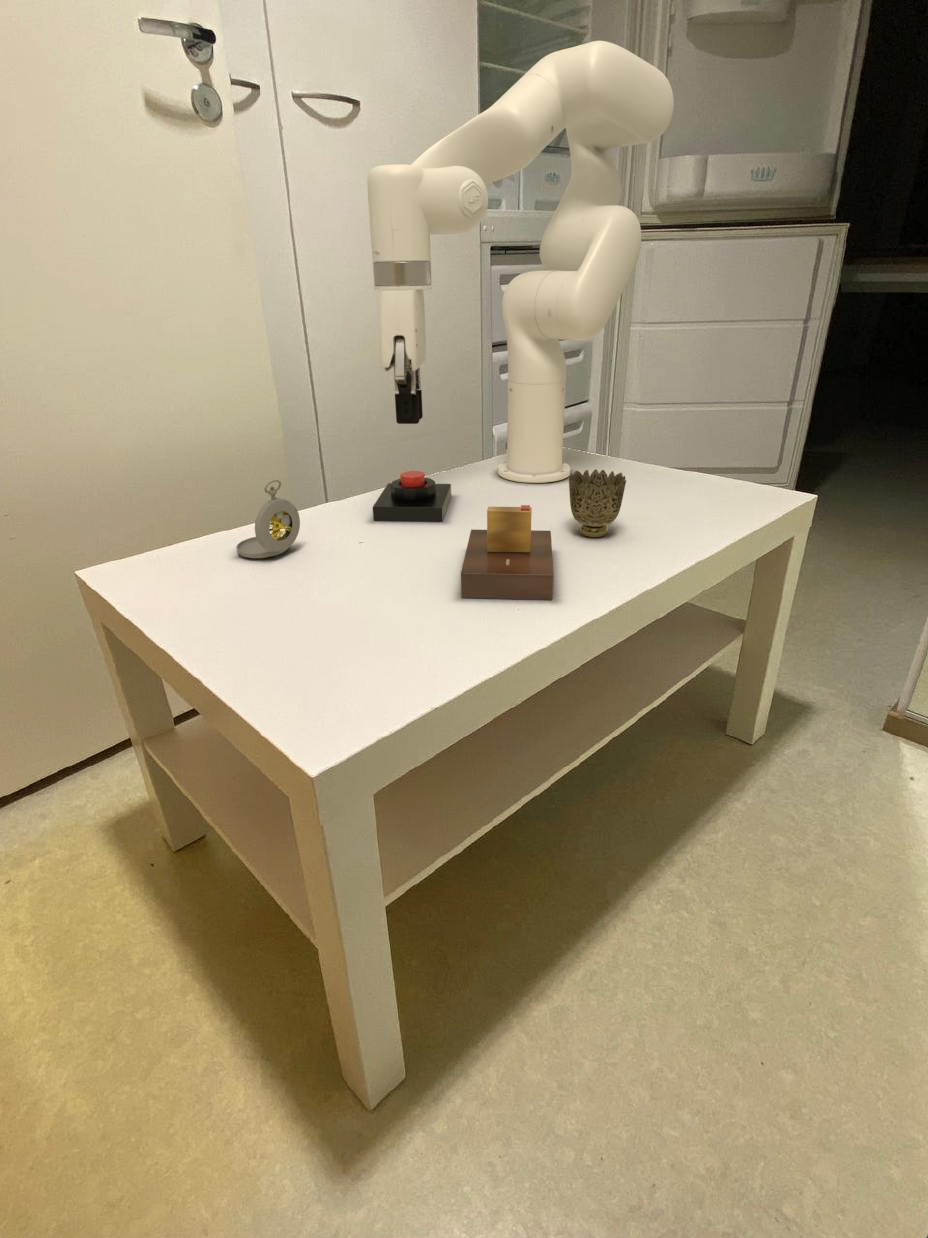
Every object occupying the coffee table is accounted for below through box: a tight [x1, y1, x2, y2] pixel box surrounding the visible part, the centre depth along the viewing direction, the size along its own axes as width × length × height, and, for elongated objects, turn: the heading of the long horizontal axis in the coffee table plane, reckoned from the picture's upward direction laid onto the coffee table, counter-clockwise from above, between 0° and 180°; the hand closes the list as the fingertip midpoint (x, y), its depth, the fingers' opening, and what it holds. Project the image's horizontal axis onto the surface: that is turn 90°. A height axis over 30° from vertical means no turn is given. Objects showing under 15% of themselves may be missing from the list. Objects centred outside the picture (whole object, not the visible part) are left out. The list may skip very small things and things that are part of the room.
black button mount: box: [372, 477, 452, 523], centre depth 105 cm, size 12×10×4 cm
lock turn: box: [486, 504, 533, 553], centre depth 81 cm, size 5×2×5 cm, turn 84°
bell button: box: [399, 470, 426, 487], centre depth 104 cm, size 4×4×2 cm
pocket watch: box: [235, 479, 301, 559], centre depth 88 cm, size 8×8×10 cm
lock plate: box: [460, 529, 554, 601], centre depth 83 cm, size 14×10×3 cm
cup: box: [568, 469, 627, 538], centre depth 93 cm, size 8×7×8 cm
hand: (409, 419), depth 100 cm, fingers closed
